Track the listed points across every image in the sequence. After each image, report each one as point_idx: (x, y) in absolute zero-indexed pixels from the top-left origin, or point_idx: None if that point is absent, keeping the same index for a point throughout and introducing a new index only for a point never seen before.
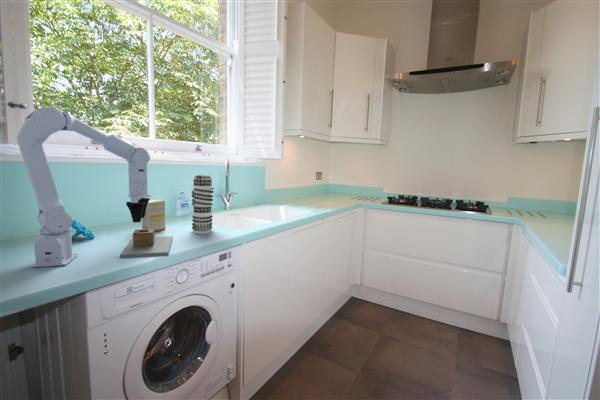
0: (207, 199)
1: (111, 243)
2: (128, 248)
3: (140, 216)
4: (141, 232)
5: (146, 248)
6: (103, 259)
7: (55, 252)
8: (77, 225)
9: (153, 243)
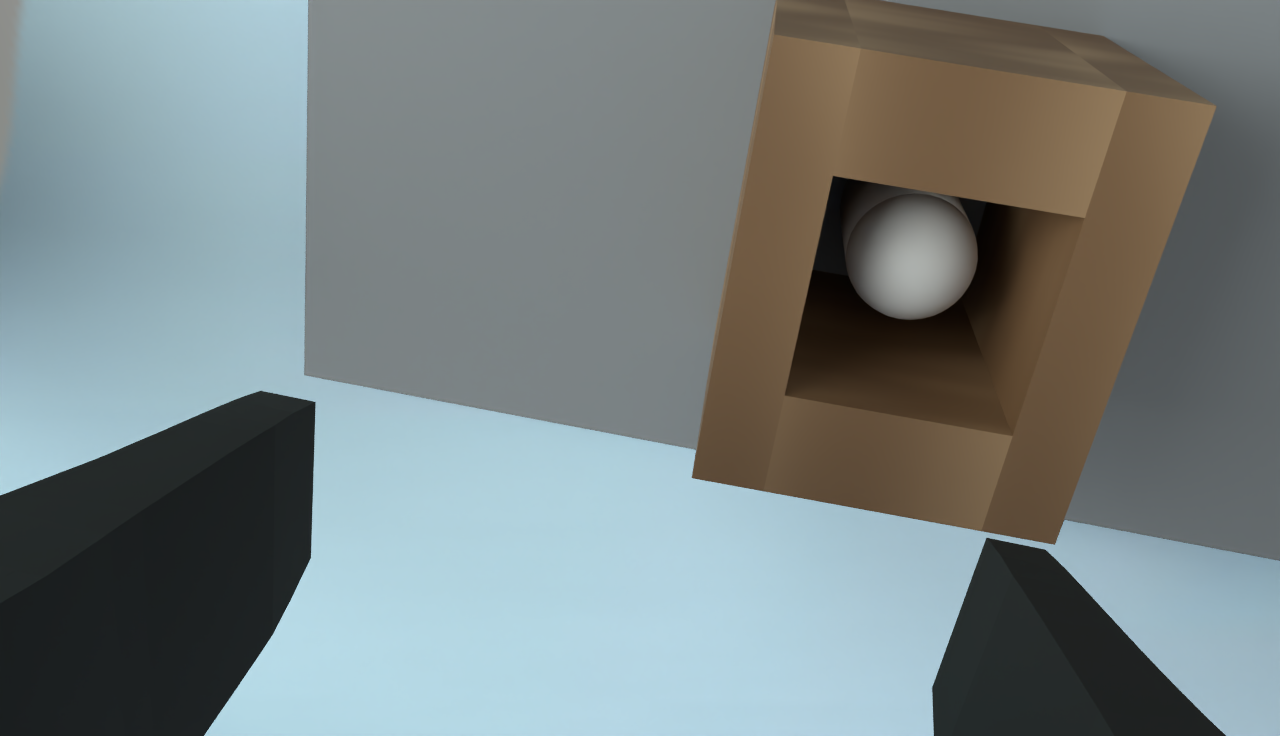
0: None
1: (447, 624)
2: None
3: (1154, 682)
4: (1071, 373)
5: (1206, 167)
6: (1277, 716)
7: None
8: None
9: (976, 18)
